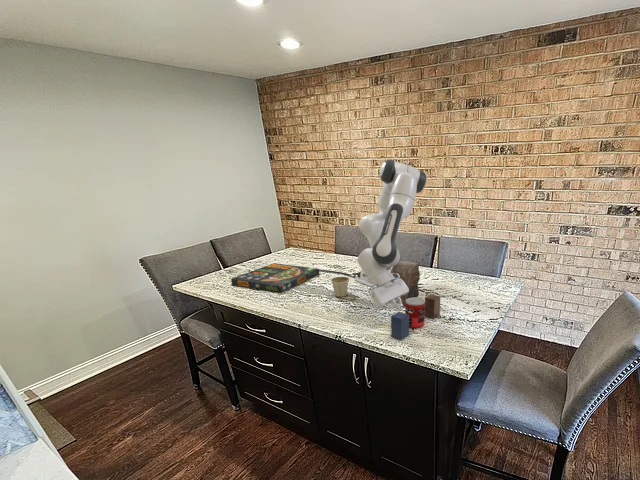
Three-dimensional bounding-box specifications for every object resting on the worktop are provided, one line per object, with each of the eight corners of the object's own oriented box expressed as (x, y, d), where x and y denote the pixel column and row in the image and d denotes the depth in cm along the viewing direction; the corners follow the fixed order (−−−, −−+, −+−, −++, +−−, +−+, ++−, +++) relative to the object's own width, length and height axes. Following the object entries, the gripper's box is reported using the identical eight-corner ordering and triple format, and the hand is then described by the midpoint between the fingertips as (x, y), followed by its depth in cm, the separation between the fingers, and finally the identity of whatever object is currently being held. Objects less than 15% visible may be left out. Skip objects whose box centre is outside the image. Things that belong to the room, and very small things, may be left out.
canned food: (404, 321, 146) (404, 297, 142) (422, 320, 147) (422, 296, 143) (406, 329, 139) (406, 304, 135) (425, 328, 140) (426, 303, 136)
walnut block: (424, 316, 151) (424, 297, 147) (430, 312, 155) (430, 294, 151) (433, 318, 148) (434, 299, 145) (439, 315, 152) (440, 296, 148)
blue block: (391, 336, 133) (390, 315, 130) (398, 331, 137) (398, 311, 133) (401, 340, 130) (401, 319, 127) (408, 335, 134) (409, 314, 131)
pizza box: (232, 284, 192) (230, 278, 191) (274, 268, 222) (273, 263, 221) (281, 292, 180) (280, 286, 178) (319, 274, 210) (318, 268, 208)
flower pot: (353, 292, 179) (352, 277, 175) (345, 299, 170) (343, 283, 167) (337, 291, 181) (336, 275, 178) (328, 297, 173) (327, 281, 170)
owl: (387, 299, 170) (387, 261, 162) (408, 294, 176) (409, 257, 168) (401, 307, 160) (401, 267, 152) (422, 302, 166) (423, 263, 158)
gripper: (370, 284, 137) (389, 312, 135) (400, 272, 152) (418, 297, 151) (363, 292, 141) (381, 319, 140) (392, 280, 157) (409, 304, 155)
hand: (400, 308), depth 145 cm, fingers closed
